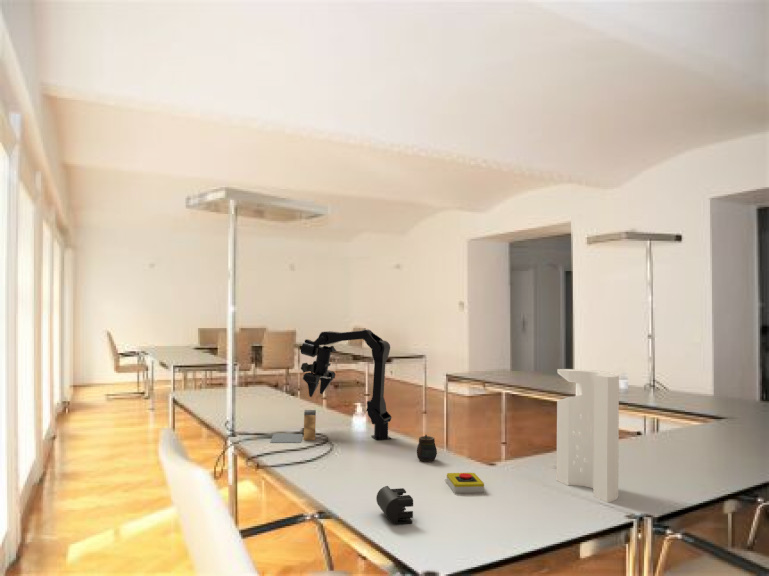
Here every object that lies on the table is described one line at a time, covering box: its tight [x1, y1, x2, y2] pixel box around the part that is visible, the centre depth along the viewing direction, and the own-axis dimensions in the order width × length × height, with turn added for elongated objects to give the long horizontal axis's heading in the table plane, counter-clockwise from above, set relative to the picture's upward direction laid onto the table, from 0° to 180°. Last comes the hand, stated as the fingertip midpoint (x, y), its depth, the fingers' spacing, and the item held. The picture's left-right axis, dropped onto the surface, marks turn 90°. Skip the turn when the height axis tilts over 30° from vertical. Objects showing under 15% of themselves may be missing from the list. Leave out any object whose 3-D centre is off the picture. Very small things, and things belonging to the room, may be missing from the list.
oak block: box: [303, 409, 317, 441], centre depth 226 cm, size 4×4×11 cm
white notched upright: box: [555, 368, 620, 503], centre depth 169 cm, size 35×11×21 cm
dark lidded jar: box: [416, 434, 438, 463], centre depth 197 cm, size 7×8×10 cm
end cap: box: [375, 485, 414, 526], centre depth 142 cm, size 10×7×7 cm
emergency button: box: [444, 472, 487, 496], centre depth 168 cm, size 9×4×15 cm
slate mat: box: [269, 433, 304, 444], centre depth 225 cm, size 12×14×1 cm
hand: (315, 395), depth 241 cm, fingers open, 9 cm apart
